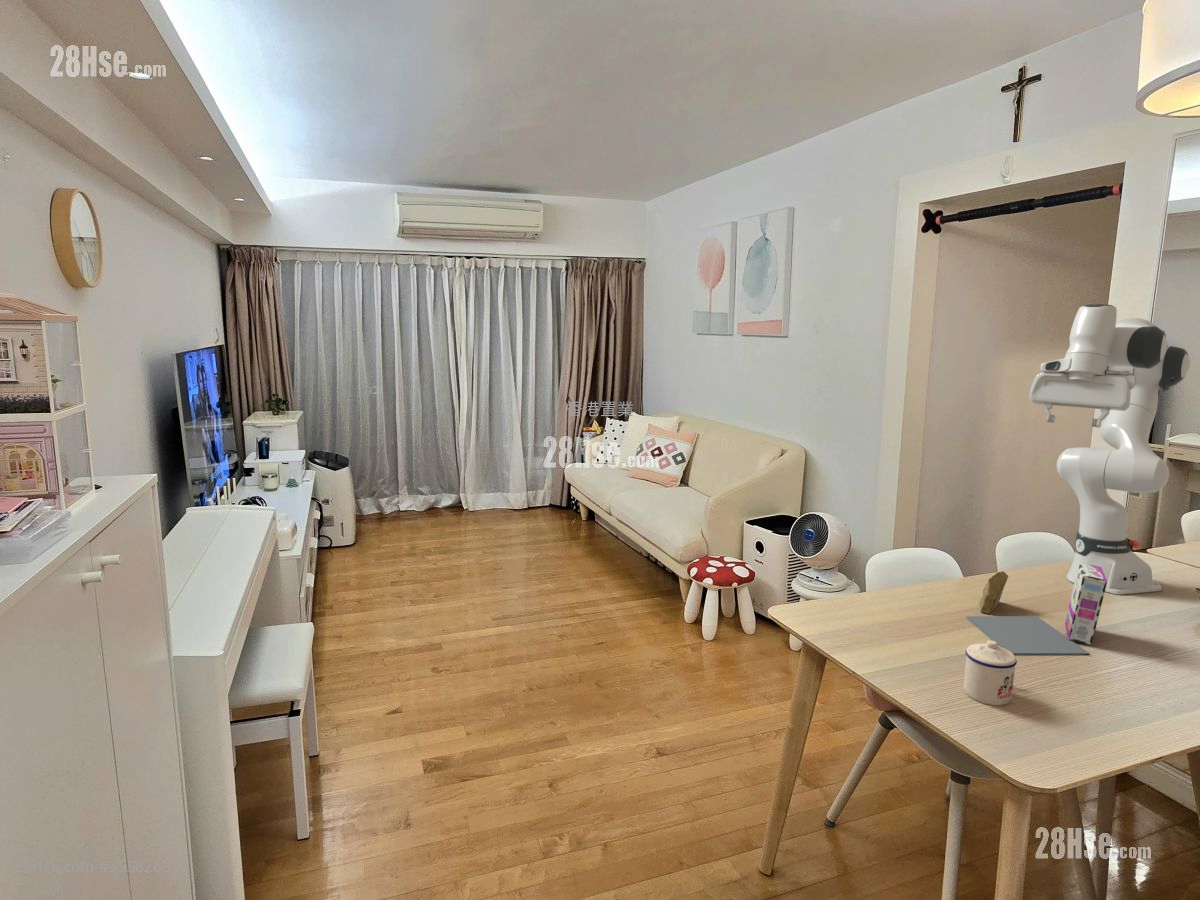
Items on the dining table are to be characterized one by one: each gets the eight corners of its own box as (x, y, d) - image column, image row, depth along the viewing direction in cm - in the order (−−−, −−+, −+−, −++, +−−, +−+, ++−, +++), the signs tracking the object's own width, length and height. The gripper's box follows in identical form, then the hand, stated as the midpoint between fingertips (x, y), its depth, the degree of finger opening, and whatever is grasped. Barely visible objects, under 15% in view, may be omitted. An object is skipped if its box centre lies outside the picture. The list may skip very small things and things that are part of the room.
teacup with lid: (1006, 712, 135) (1012, 657, 133) (956, 695, 141) (961, 642, 139) (1020, 688, 144) (1026, 635, 142) (972, 673, 150) (977, 623, 148)
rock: (997, 611, 176) (1024, 599, 179) (979, 580, 179) (1005, 569, 182) (967, 621, 185) (993, 610, 189) (950, 591, 188) (976, 581, 192)
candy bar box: (1093, 646, 161) (1108, 580, 158) (1068, 640, 164) (1082, 575, 160) (1088, 628, 171) (1102, 566, 167) (1064, 622, 173) (1077, 561, 170)
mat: (1036, 617, 177) (1037, 616, 177) (1089, 654, 157) (1089, 653, 157) (965, 617, 178) (966, 616, 177) (1009, 654, 158) (1009, 653, 158)
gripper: (1139, 375, 161) (1127, 432, 161) (1040, 369, 176) (1029, 422, 176) (1135, 368, 157) (1122, 427, 157) (1033, 363, 172) (1022, 417, 172)
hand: (1072, 424), depth 167 cm, fingers open, 8 cm apart
